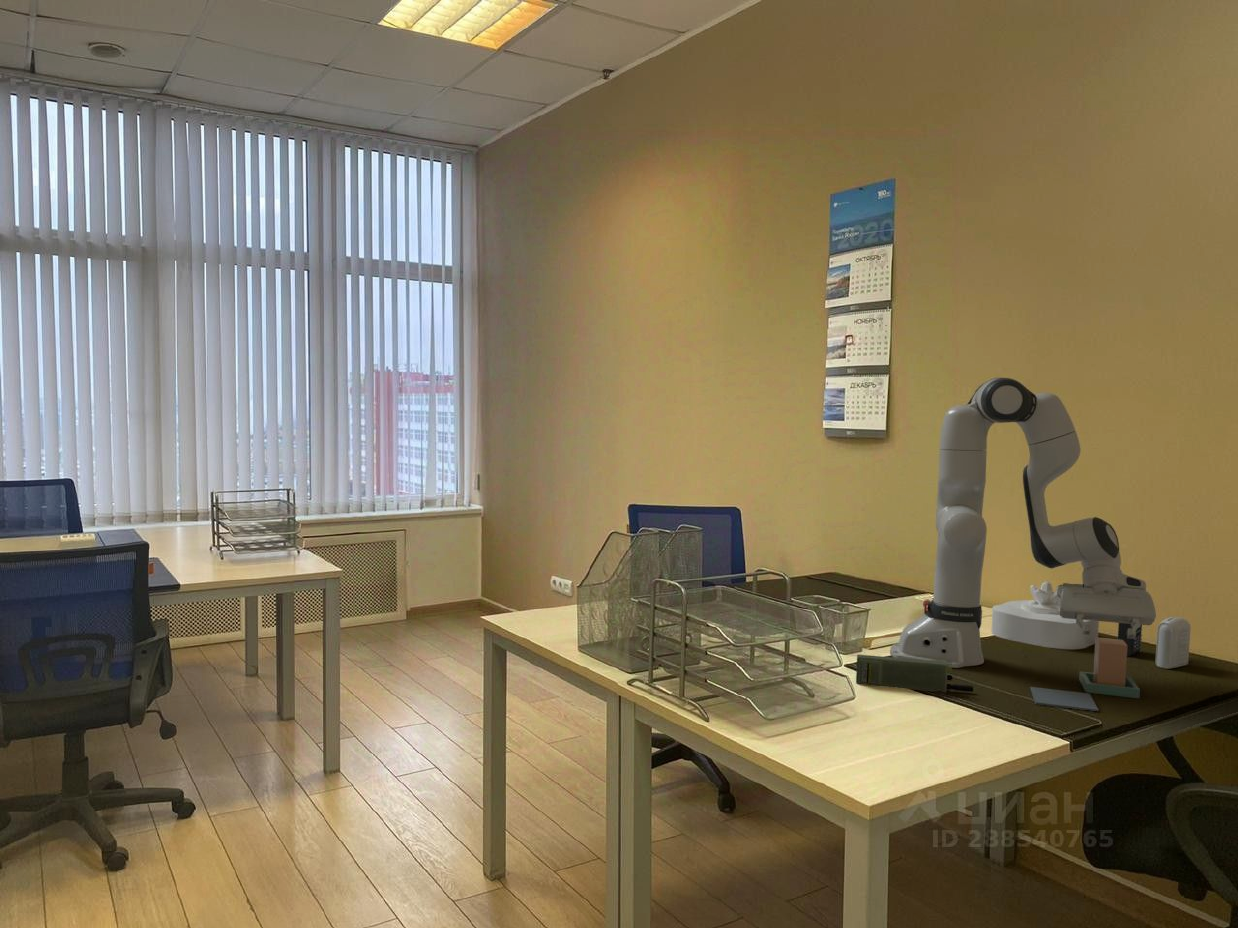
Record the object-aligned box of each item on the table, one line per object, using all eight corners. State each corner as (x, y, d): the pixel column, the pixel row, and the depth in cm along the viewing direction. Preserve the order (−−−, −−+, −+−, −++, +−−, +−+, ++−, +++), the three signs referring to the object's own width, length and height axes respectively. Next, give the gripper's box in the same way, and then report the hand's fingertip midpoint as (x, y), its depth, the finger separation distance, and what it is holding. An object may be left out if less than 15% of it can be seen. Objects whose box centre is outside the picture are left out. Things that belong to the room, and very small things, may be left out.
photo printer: (1172, 661, 235) (1175, 613, 234) (1190, 665, 231) (1193, 616, 231) (1152, 666, 229) (1155, 617, 229) (1170, 670, 226) (1173, 621, 225)
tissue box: (1073, 653, 241) (1077, 593, 240) (980, 634, 259) (983, 578, 258) (1106, 639, 258) (1110, 582, 257) (1017, 622, 276) (1020, 569, 275)
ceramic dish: (1086, 692, 205) (1086, 679, 205) (1079, 679, 215) (1079, 667, 215) (1139, 698, 202) (1140, 685, 201) (1129, 685, 212) (1130, 672, 211)
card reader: (1132, 658, 237) (1136, 600, 236) (1115, 654, 240) (1118, 598, 239) (1142, 652, 243) (1145, 596, 242) (1125, 649, 246) (1129, 593, 245)
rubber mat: (1035, 704, 195) (1035, 702, 195) (1030, 688, 206) (1030, 686, 206) (1098, 712, 191) (1098, 709, 191) (1089, 695, 202) (1089, 693, 202)
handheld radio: (855, 681, 209) (971, 692, 203) (856, 686, 206) (973, 697, 200) (857, 653, 208) (973, 662, 203) (857, 657, 205) (975, 667, 199)
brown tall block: (1096, 690, 207) (1099, 642, 206) (1092, 683, 212) (1095, 637, 211) (1124, 693, 205) (1127, 645, 204) (1119, 686, 210) (1122, 639, 209)
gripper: (1057, 575, 222) (1061, 623, 213) (1153, 581, 215) (1160, 631, 207) (1054, 590, 226) (1057, 637, 218) (1148, 597, 220) (1155, 646, 211)
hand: (1108, 635), depth 212 cm, fingers open, 8 cm apart
